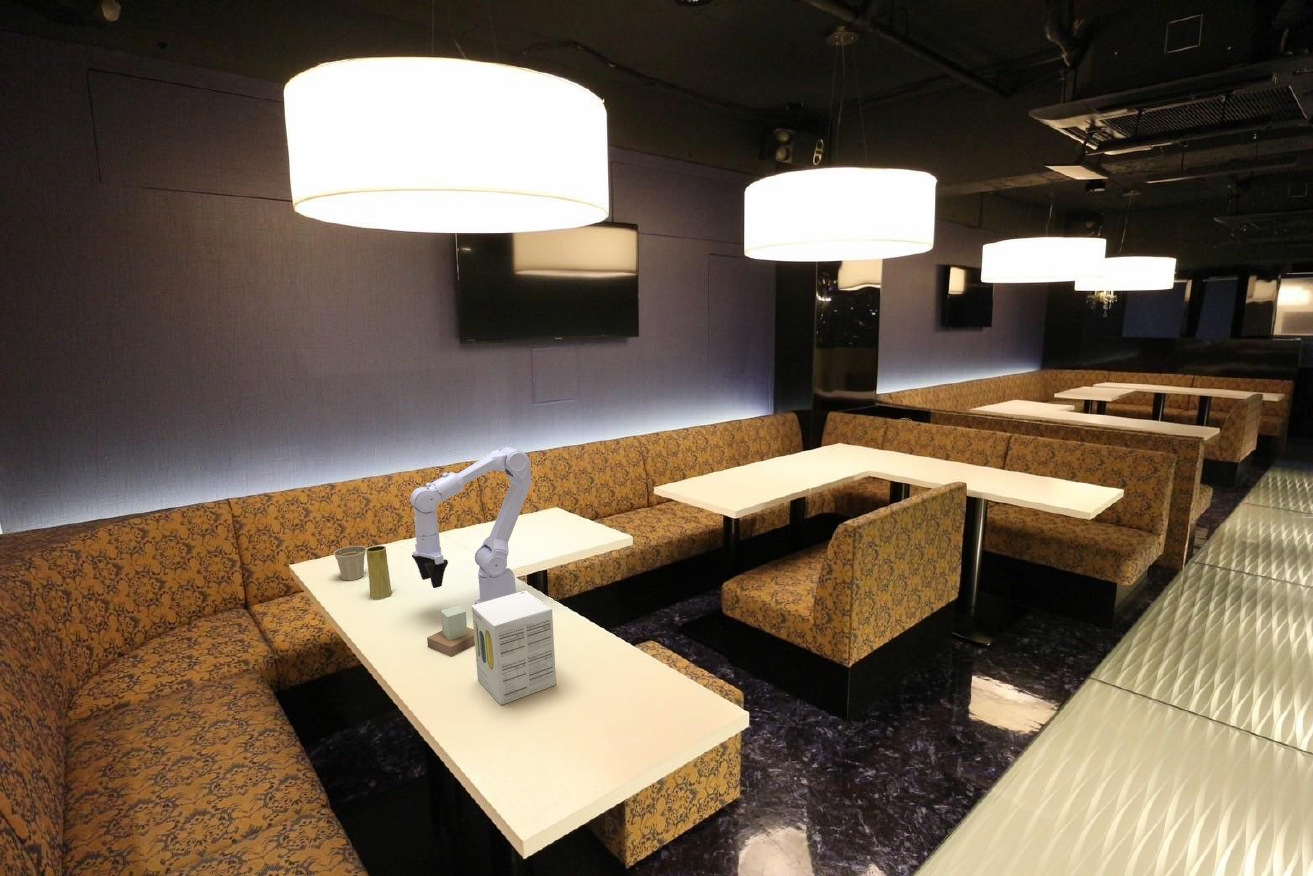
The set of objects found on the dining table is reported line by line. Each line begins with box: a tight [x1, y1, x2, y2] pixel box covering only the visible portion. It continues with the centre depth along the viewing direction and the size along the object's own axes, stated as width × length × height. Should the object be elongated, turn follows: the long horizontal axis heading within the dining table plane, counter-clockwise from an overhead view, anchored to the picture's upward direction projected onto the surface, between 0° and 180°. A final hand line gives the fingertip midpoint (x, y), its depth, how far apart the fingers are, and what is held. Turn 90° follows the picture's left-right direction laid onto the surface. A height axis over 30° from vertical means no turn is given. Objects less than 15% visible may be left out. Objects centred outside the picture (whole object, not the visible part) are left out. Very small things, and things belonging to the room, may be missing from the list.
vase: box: [365, 545, 393, 600], centre depth 193 cm, size 6×6×14 cm
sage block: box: [440, 605, 468, 640], centre depth 162 cm, size 4×4×6 cm
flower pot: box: [333, 545, 368, 581], centre depth 208 cm, size 9×9×9 cm
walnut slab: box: [426, 626, 475, 657], centre depth 163 cm, size 9×9×3 cm
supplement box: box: [471, 590, 557, 706], centre depth 143 cm, size 13×13×18 cm
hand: (431, 582), depth 176 cm, fingers open, 7 cm apart
